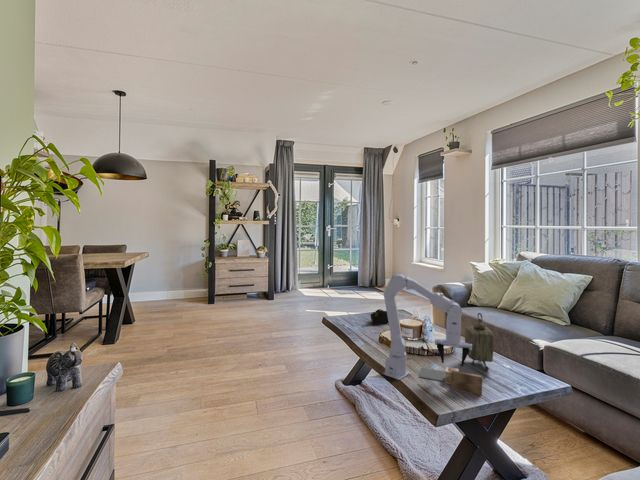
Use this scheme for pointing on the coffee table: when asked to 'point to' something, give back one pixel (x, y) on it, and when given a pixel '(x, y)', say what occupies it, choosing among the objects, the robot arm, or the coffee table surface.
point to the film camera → (379, 317)
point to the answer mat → (432, 374)
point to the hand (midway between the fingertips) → (452, 363)
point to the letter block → (449, 374)
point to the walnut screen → (466, 382)
